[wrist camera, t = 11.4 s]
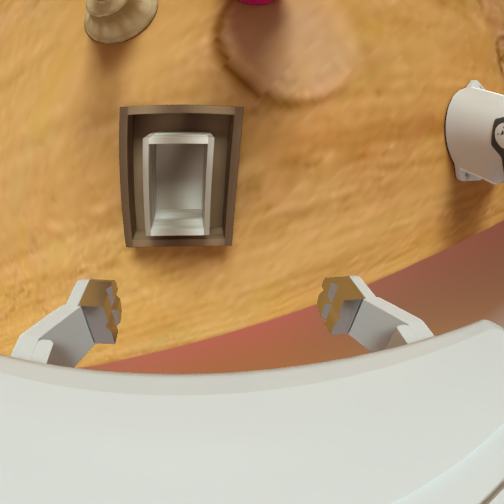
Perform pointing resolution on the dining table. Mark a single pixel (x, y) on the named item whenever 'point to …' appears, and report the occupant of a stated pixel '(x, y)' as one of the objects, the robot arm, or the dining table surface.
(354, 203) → the dining table surface
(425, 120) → the dining table surface
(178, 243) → the big crate
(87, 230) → the dining table surface
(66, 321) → the robot arm
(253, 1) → the pepper mill
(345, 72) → the dining table surface
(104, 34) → the hand bell
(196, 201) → the small crate
